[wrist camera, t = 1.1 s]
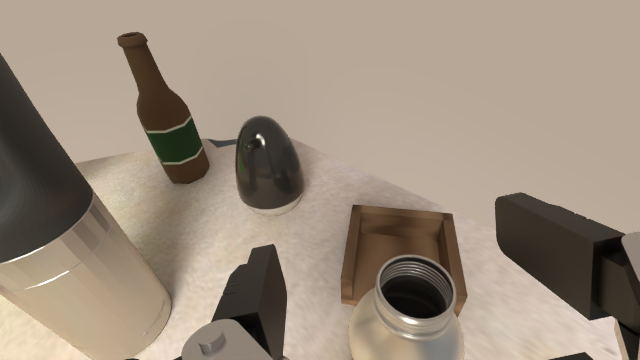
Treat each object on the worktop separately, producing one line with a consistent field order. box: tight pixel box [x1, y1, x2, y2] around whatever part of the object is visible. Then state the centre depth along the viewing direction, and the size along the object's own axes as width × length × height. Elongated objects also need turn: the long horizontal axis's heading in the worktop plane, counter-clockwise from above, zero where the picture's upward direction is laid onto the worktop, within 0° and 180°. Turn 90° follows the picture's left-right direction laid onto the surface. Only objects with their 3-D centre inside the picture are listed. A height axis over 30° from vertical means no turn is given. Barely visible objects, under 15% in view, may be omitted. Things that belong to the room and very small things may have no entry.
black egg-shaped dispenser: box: [235, 116, 305, 216], centre depth 44 cm, size 10×10×15 cm
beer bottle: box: [117, 32, 209, 184], centre depth 49 cm, size 8×8×24 cm
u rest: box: [341, 205, 467, 318], centre depth 36 cm, size 12×11×5 cm
